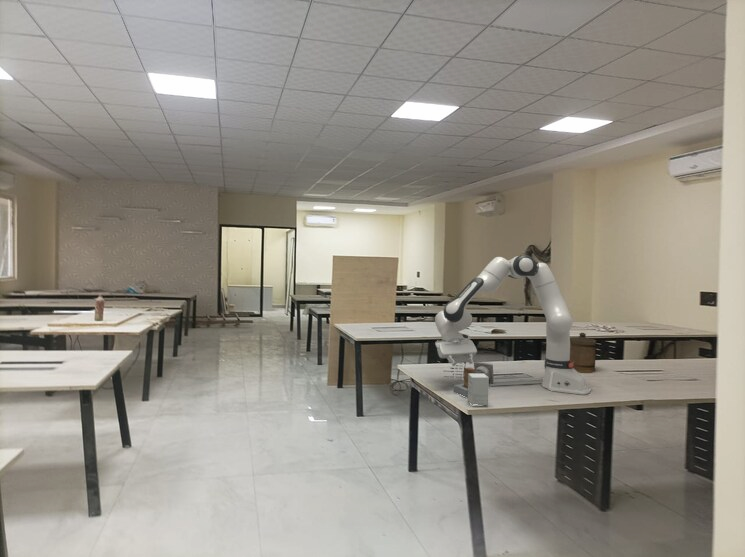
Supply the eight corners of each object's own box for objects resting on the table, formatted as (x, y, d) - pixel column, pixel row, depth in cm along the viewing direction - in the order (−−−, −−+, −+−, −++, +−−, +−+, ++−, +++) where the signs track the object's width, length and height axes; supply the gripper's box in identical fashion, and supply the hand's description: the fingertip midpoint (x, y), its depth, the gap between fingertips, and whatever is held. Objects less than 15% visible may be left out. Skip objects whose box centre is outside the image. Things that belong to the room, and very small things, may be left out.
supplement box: (483, 401, 211) (484, 373, 211) (488, 406, 204) (489, 377, 203) (467, 401, 211) (467, 372, 210) (471, 406, 203) (472, 377, 203)
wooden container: (598, 370, 280) (600, 333, 279) (589, 374, 269) (591, 335, 268) (572, 366, 290) (574, 330, 289) (563, 369, 279) (564, 332, 279)
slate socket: (471, 390, 229) (471, 383, 229) (484, 396, 220) (484, 388, 219) (453, 392, 225) (454, 384, 225) (465, 398, 216) (466, 390, 215)
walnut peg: (469, 392, 225) (470, 367, 224) (474, 394, 221) (475, 369, 221) (463, 393, 223) (464, 368, 223) (467, 395, 220) (468, 369, 219)
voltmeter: (491, 380, 250) (492, 361, 250) (496, 386, 239) (496, 366, 238) (440, 378, 251) (441, 359, 251) (443, 384, 240) (443, 364, 240)
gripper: (436, 337, 229) (447, 361, 220) (471, 335, 237) (483, 358, 229) (431, 344, 233) (441, 368, 225) (466, 342, 241) (477, 365, 233)
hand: (463, 363), depth 227 cm, fingers open, 8 cm apart
